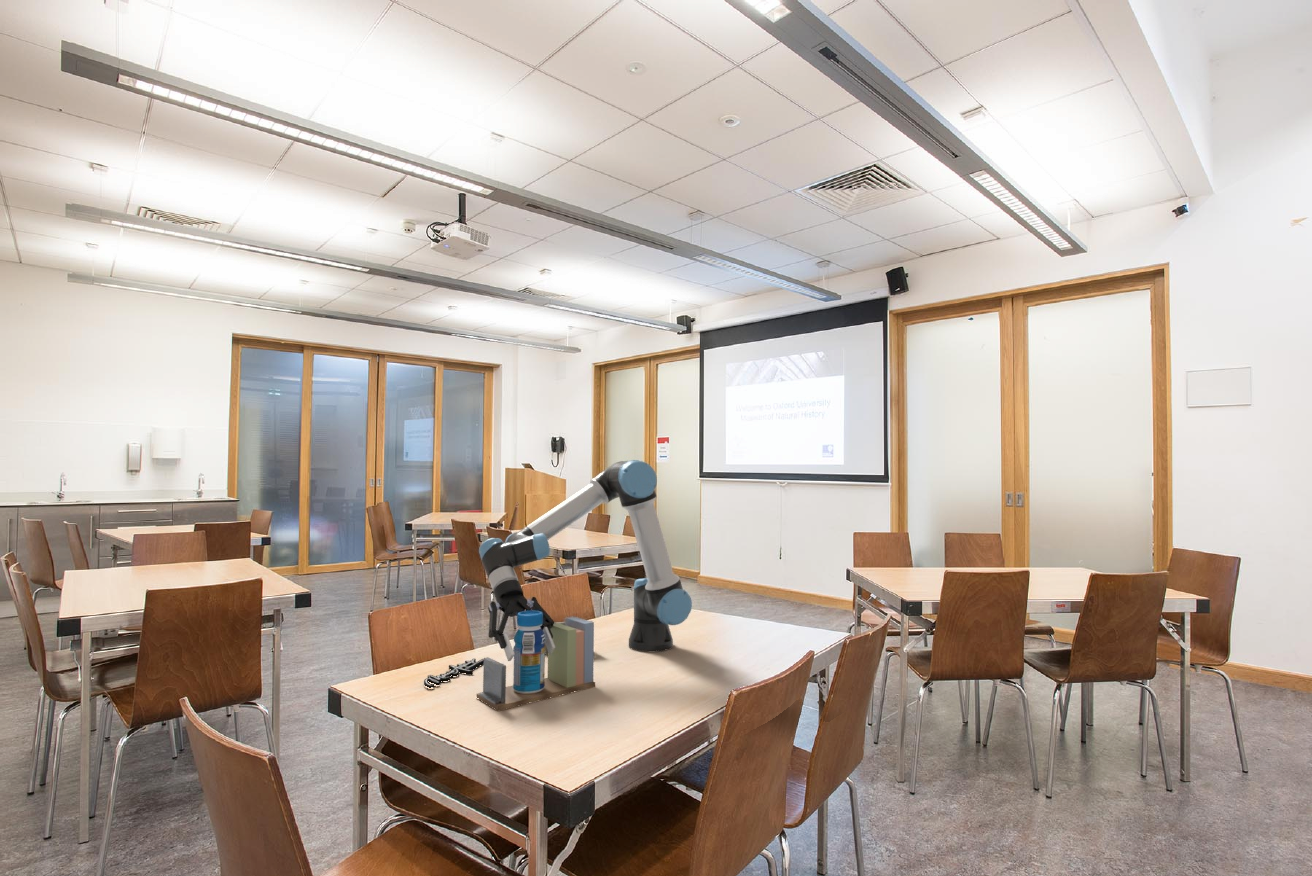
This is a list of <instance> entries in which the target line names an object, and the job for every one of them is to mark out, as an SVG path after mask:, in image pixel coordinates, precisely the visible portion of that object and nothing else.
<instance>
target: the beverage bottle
mask: <svg viewBox="0 0 1312 876" xmlns="http://www.w3.org/2000/svg"><path fill="white" fill-rule="evenodd" d="M542 624H543V613H542V612H540V611H526V610H525V611H522V612H519V613H518V614H517V616H516V625H517V627H518V629H517V630H516V633H514V634H515V635H514V637H513V642H514V645H513V647H512V649H513V652H514V654H515V655H514V656H513V684H512V686H513V690H514V691H515V692H517V693H520V694H533V693H537V692H540V691H542V690H543V689H544V686H545V682H544V678H545V677H546V676H545V674H546V673H545V672H546V671H545V670H546V669H545V667H546V664H545V663H546V654H545V651H546V647H545V644H544V641H545V635H544V632H543V630H542V629H541V627H540V626H542Z"/></svg>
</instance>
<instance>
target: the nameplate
mask: <svg viewBox="0 0 1312 876" xmlns="http://www.w3.org/2000/svg"><path fill="white" fill-rule="evenodd" d="M480 665H482V666H484V658H481V659H479V660H478V661H476V658H472V659H471V660H465V661H464V663H457V664H456V665H452V664H449V665H448V670H447V671H445V673H440V674H439V675H438V674H437V675H434V674H433V675H432V674H428V675H427V678H425V679H424V680H423V686H424V685H425V686H427V687H429V688H431V687H434V688H435V686H434V684H436V685H439V684H440V682H441V681H448V680H450V681H451V679H452V677H450V676H451V675H452V676H457V675H459V676H460V674H461V673H466V674H473V675H474V670H476V669H477V668H476V667H478V668H480V667H481V666H480ZM479 666H480V667H479ZM475 668H476V669H475ZM449 669H451V670H449ZM473 669H474V670H473ZM459 672H460V673H459ZM428 681H429V682H431V683H434V684H430V683H429V682H428ZM441 683H442V682H441ZM440 685H441V684H440Z"/></svg>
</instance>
